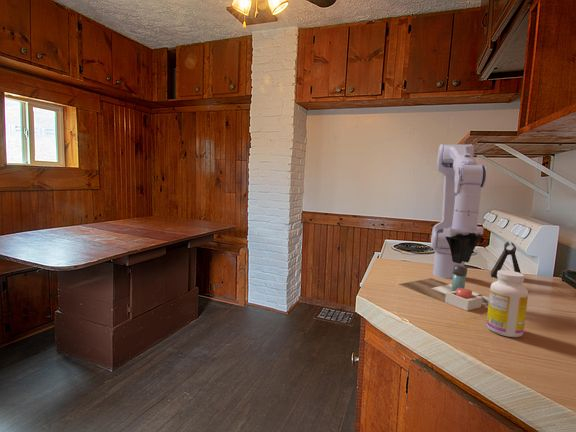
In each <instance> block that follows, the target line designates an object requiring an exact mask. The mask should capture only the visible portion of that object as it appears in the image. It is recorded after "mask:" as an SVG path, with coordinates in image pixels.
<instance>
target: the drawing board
mask: <svg viewBox="0 0 576 432" xmlns="http://www.w3.org/2000/svg"><path fill="white" fill-rule="evenodd" d="M397 285H399V286H400V287H404V288H406V289H409V290H411V291H415V292H417V293H420V294H422V295H424V296H427V297H429V298H432V299H434V300H437V301H440V302H442V303H445V304H448V303H446V302H445V297H446V293H447V292H451V290H452V284H451V283H446V282H444V281H441V280H437V279H434V278H432V277H431V278H425V279H419V280H414V281H408V282H403V283H402V282H401V283H397ZM472 294H474V295H477V296H480V297H482V304H481V307H479V308H476V309H472V310H469V311H473V310H477V309H481V308H484V307H488V304H489V296H486V295H483V294H481V293H478V292H475V291H472ZM448 305H451V304H448ZM451 306H453V305H451ZM453 307H456V306H453ZM456 308H457V309H460V310H463V311H466V310H464V309H461V308H458V307H456ZM469 311H468V312H469ZM466 312H467V311H466Z"/></svg>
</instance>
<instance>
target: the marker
mask: <svg viewBox="0 0 576 432" xmlns="http://www.w3.org/2000/svg"><path fill="white" fill-rule="evenodd" d="M467 273H468V267H467V266H465V265H464V266H460V265H454V268H453V279H452V282H451V283H452V284H451V285H452V290H451V292H452V291H456V290H457V288H464V289H466V288H465V287H466V277H467V275H468V274H467Z"/></svg>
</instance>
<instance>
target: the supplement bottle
mask: <svg viewBox="0 0 576 432" xmlns="http://www.w3.org/2000/svg"><path fill="white" fill-rule="evenodd" d="M496 279H497V280H496V281H493V282H492V283H491V284H490V287H489V295H488V297H489V304H488V306H487V314H486V315H487V316H486V327H487V328H488V329H489V331H491V332H492V333H495V334H497V335H499V336H504V337H508V338H509V337H510V338H520V337H522V336H523V335H524V330H525V323H526V314H527V308H528V307H527V305H528V298H529V291H528V289H527V287H525V286H524V285H523V283H524V281H525V275H524V274H523V273H518V272H514V270H508V269H507V270H506V269H501V270H498V272H497V278H496Z"/></svg>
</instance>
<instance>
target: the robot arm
mask: <svg viewBox="0 0 576 432" xmlns="http://www.w3.org/2000/svg"><path fill="white" fill-rule="evenodd" d="M437 151H438V152H437V163H436V164H437V165H436V166H437V171H438V172H439V173H441V174H442V177H443V191H442V192H443V193H442V197H443V198H442V212H441V213H442V214H441V221H440V222H438V223H436V224H435V225H434V226H433V227H432V229H431V230H432V231H431V236H430V248H432V250H434V258H433V268H432V275H433V276H435V277H438V278H441V279H448V280H453V268H454V265H460V266H465V263H469V262H470V260H471V257H472V255H473V253H474V251H475V249H476V247H477V246H478V244H479V243H480V241H481V240H482V236H480V235H483V234H484V228H485V227H483V226H478V222H479V221H478V220H479V212H480V205H481V195H482V188H484V186H485V183H486V180H487V167H486V165H485V164H478V162H477V160H476V159H475V158H474V154H475V146H474V145H473V144H472V143H469V144H461V143H460V144H458V143H457V144H456V143H455V144H446V143H445V144H444V143H441V144H440V145H439V147H438V150H437Z"/></svg>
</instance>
